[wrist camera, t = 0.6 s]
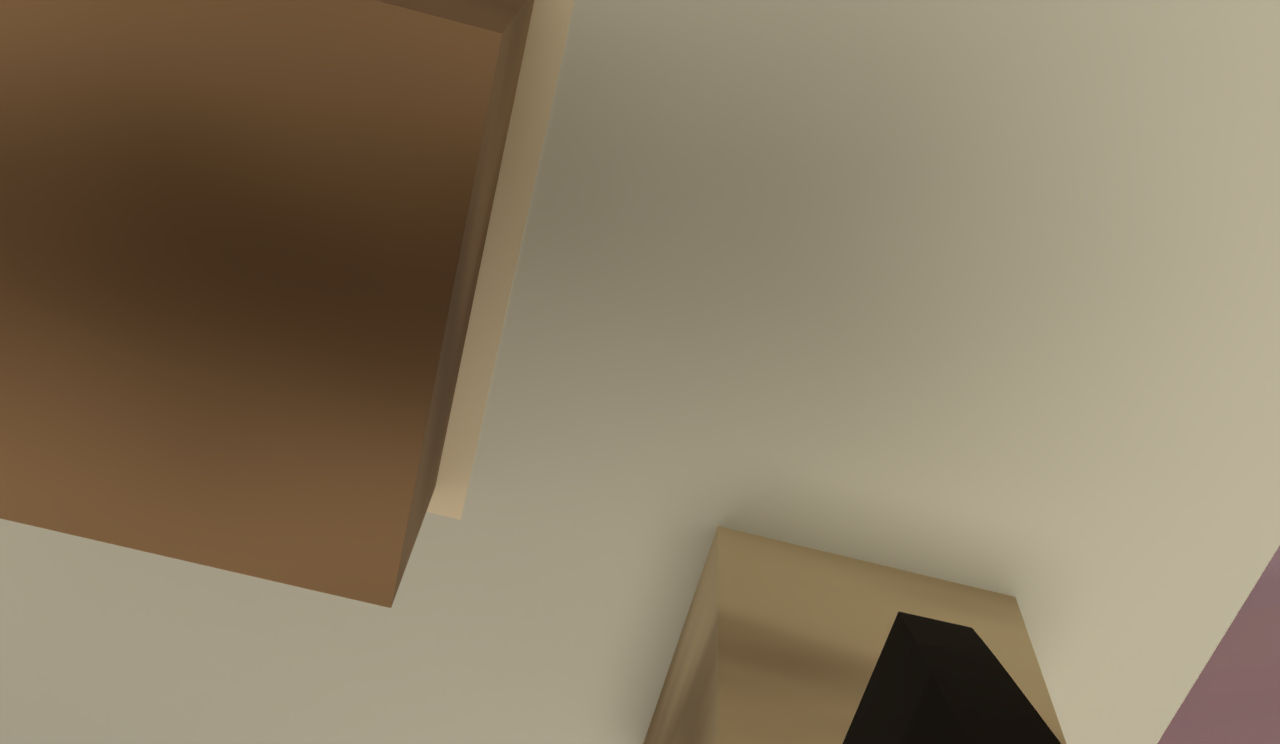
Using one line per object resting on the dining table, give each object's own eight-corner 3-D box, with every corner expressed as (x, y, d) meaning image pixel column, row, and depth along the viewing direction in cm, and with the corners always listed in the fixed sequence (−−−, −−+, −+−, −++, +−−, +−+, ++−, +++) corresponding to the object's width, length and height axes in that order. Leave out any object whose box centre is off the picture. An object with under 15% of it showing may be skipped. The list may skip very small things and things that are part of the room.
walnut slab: (435, 486, 19) (391, 608, 17) (-75, 366, 19) (-204, 471, 16) (538, -19, 16) (502, 33, 13) (-94, -187, 15) (-265, -169, 12)
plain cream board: (999, 946, 25) (1008, 987, 24) (-88, 710, 23) (-116, 744, 23) (1543, 36, 16) (1587, 52, 15) (-142, -436, 15) (-190, -446, 14)
